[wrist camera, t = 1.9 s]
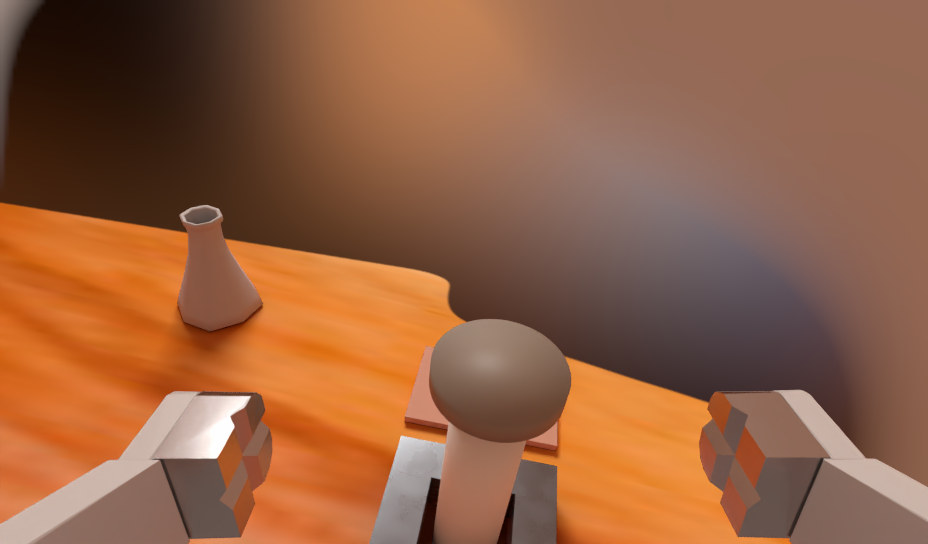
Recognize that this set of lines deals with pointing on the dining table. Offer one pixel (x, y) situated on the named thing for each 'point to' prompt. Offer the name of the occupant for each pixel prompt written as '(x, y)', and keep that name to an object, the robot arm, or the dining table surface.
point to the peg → (490, 419)
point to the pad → (429, 415)
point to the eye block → (420, 484)
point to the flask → (213, 275)
